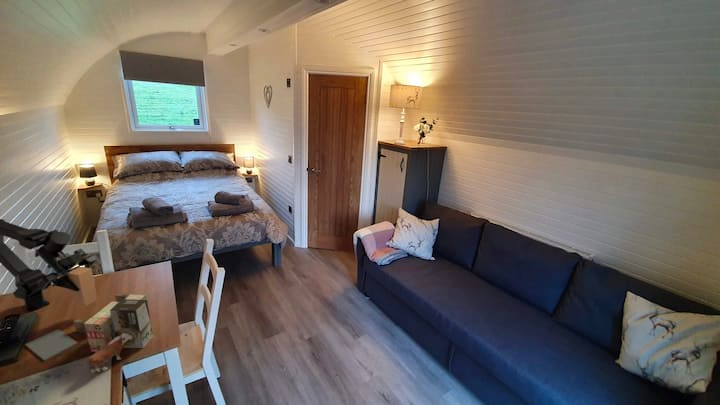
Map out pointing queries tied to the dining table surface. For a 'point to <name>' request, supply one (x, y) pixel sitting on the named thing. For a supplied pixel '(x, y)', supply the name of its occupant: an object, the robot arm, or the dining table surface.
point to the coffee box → (132, 322)
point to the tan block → (83, 286)
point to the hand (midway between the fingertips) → (85, 286)
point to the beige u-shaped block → (80, 323)
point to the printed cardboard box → (103, 326)
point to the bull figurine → (108, 352)
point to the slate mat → (51, 344)
